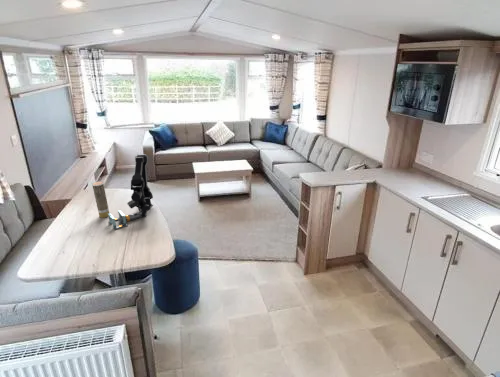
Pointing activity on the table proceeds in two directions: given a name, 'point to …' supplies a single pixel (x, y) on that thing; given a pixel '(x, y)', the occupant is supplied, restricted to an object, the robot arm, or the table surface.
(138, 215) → the tube
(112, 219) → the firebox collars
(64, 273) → the table surface
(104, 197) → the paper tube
